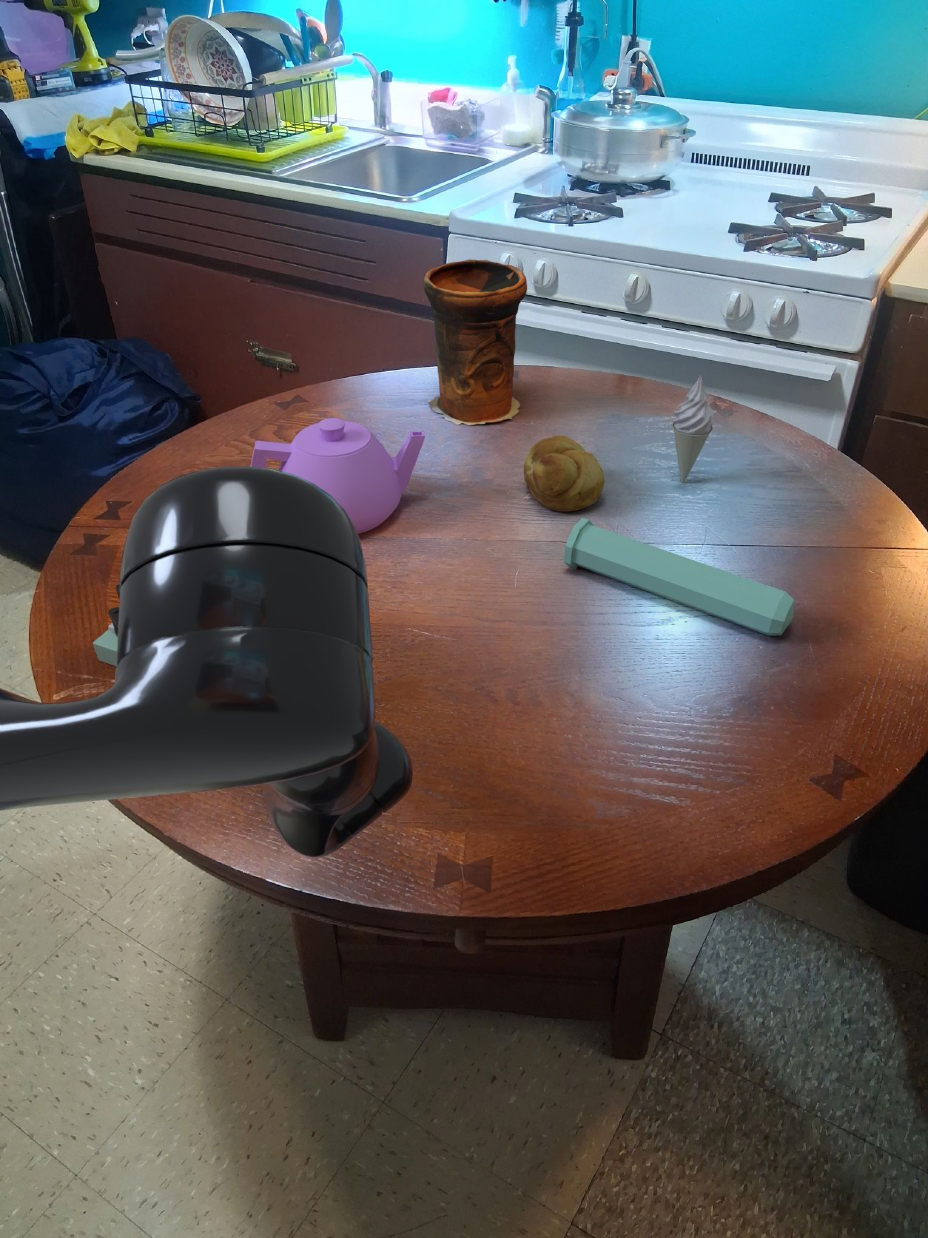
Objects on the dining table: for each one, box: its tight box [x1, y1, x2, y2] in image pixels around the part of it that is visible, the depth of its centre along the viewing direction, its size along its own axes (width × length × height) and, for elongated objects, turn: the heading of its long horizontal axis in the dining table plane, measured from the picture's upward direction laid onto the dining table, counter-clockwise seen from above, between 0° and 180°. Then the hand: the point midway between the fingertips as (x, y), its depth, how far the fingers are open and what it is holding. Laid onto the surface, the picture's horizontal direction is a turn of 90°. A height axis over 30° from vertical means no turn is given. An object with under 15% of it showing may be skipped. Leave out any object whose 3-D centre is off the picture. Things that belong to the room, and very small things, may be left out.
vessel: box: [423, 258, 528, 426], centre depth 127 cm, size 14×14×20 cm
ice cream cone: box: [671, 374, 715, 484], centre depth 111 cm, size 5×5×15 cm
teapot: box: [249, 417, 426, 535], centre depth 107 cm, size 22×16×12 cm
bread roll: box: [523, 435, 605, 513], centre depth 111 cm, size 13×10×8 cm
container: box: [563, 517, 796, 637], centre depth 95 cm, size 6×6×25 cm
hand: (169, 569), depth 83 cm, fingers open, 8 cm apart
